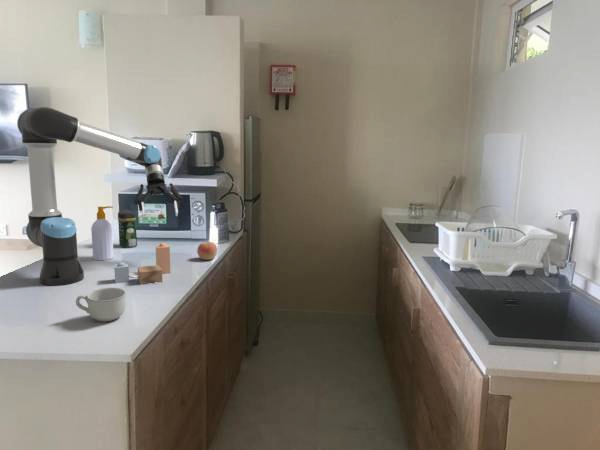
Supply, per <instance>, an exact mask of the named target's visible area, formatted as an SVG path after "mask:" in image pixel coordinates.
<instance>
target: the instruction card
mask: <svg viewBox="0 0 600 450" xmlns="http://www.w3.org/2000/svg"><path fill="white" fill-rule="evenodd" d="M129 278H138V270H137V271H134V272H129Z"/></svg>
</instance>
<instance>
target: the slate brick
mask: <svg viewBox="0 0 600 450" xmlns="http://www.w3.org/2000/svg"><path fill="white" fill-rule="evenodd" d="M113 268H114V283H115V284H120V283H121V284H122V283H129V282H130V276H129V273H130V271H129V270H130V269H129V263H125V262H123V261H122V262H118V264H116V263H115V264H114V267H113Z"/></svg>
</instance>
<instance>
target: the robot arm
mask: <svg viewBox="0 0 600 450" xmlns="http://www.w3.org/2000/svg"><path fill="white" fill-rule="evenodd" d="M16 122H17V124H16V125H17V129H18V131H19V132H20V134H21V141H22V143H21V144H22V145H24V146H25V147H26V149H27V158H28V171H29V184H30V185H29V187H30V195H31V196H30V198H31V208H32V210H31V211H30V212H29V213H28V223H27V224H26V228H25V232H26V233H25V234H26V236H27V238H28V240H29V241H31V243H33V244H34V245H35V246H37V247H40V248H42V259H43V262H42V267H41V271H40V272H39V282H40V284H42V285H46V286H62V285H70V284H75V283H76V282H80V281H82V280H83V279H84V278H85V271H84V269H83V267H82V264H81V262H80V261H79V256H78V239H77V226H76V222H75V221H74V220H73V219H71V218H69V217H63V214H62V212H61V210H59V209H58V202H57V189H56V188H57V187H56V176H55V159H54V148H55V147H56V146H57V145H58V141H63V142H67V143H73V142H77V143H80V144H83V145H86V146H89V147H92V148H93V147H94V148H96V149H98V150H99V149H100V150H103V151H107V152H110V153H112V154H115V155H118V156H119V158H122V159H124V160H125V161H128V162H132V163H134V164H136V165H137V164H138V165H139V166H143V167H144V170H145V176H146V184H147V185H144V184H140V187H139V190H138V192H137V193H136V196H135V197H134V199H133V204H134V205H138V210H139V211H140V212H141V211H142V212H141V214H142V218H143V219H145V218H146V213H145V212H146V211H145V204H144V203H145V201H146V200H148V198H149V197H151V196H152V195H154V196H156V195H163V196H164V197H167V198H168V199H169V200H171V201H172V202H173V206H174V213H175V217H178V215H179V209H180V203H182V202H183V197H182V196H181V194H180V193H179V192H178V190H177V189H176V188H175V186H174V185H173V183H169V184H166V181H165V175H164V169H163V163H162V162H163V161H162V153H161V150H160V149H159V147H158V146H156V145H153V144H146V143H145V142H144V143H143V142H140V141H138V140H134V139H132V138H128V137H125V136H123V135H120V134H117V133H113V132H111V131H108V130H106V129H103V128H99V127H97V126H92V125H90V124H87V123H84V122H82V121H80V120H79V118H77V117H74V116H72V115H70V114H67V113H64V112H61V111H60V110H57V109H55V108H52V107H47V106H41V107H40V106H39V107H31V108H27V109H26V110H24V111H22V112H21V113H20V114H19V115H18V118H17V121H16ZM146 190H147V192H145V191H146ZM168 190H169V191H168ZM144 192H145V193H144ZM143 193H144V195H143ZM142 195H143V196H142Z"/></svg>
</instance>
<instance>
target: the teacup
mask: <svg viewBox="0 0 600 450" xmlns="http://www.w3.org/2000/svg"><path fill="white" fill-rule="evenodd" d="M126 293H127V291H126V290H124V289H123V288H119V287H102V288H98V289H94V290H91V291H90V292H89V293H88V294H80V295H78V296H77V297H76V299H75V305H76V306H77V308H79V309H80V310H82V311H84V312H86V314H89V316H90V317H91V318H93V320H95V321H98V322H103V323H105V322H107V321H108V322H112V320H113V321H116V320H117V319H119V318H120V317H121V316H122V315H123V314H124V313H125V311H126V308H127V307H126V305H127V303H126V299H127V298H126ZM81 299H84V301H85V302H86V304H87V306H84V305H83V304H82V303H81V302H80V301H81ZM115 319H116V320H115Z"/></svg>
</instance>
